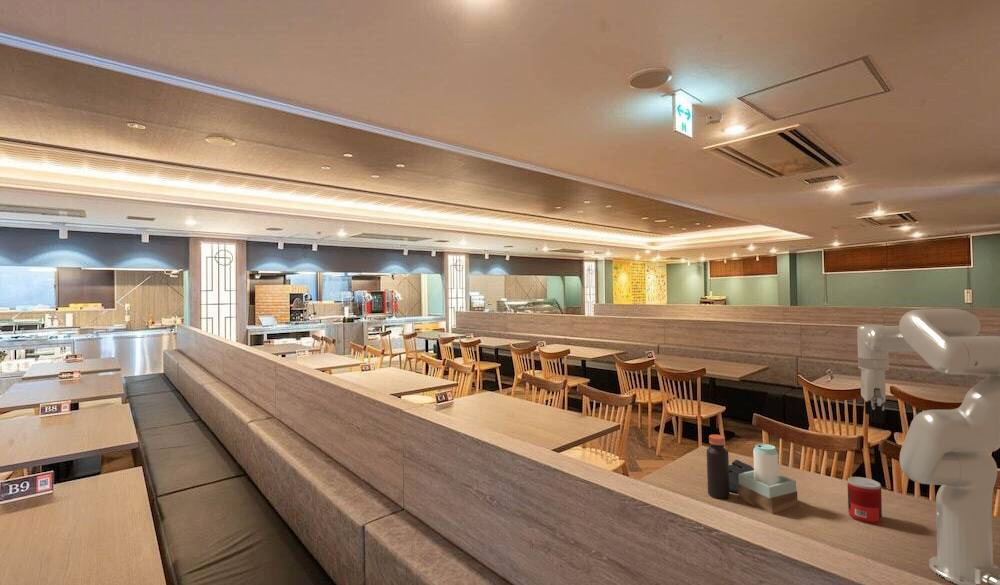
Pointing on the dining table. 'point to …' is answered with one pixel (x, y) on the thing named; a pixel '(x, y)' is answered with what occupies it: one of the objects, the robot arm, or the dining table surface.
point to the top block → (770, 491)
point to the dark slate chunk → (737, 474)
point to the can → (766, 464)
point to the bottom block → (768, 500)
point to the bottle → (718, 468)
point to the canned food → (864, 500)
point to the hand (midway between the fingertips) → (874, 418)
